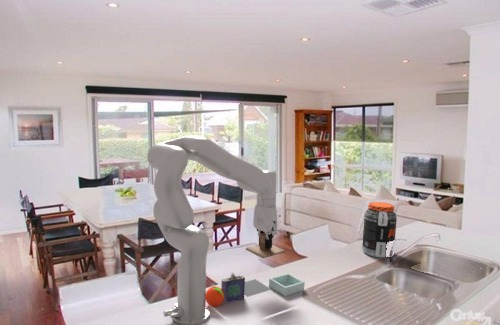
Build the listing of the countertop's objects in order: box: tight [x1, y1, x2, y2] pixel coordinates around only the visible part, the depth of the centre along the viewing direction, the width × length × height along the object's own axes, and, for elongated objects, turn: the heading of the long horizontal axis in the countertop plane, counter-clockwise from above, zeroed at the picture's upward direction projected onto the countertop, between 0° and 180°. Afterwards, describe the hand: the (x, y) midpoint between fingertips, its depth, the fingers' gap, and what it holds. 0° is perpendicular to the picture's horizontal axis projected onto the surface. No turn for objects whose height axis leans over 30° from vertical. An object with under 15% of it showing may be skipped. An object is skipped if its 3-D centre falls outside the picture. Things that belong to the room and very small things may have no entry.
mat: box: [244, 279, 272, 298], centre depth 151 cm, size 12×11×1 cm
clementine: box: [206, 285, 224, 307], centre depth 136 cm, size 8×7×7 cm
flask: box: [220, 272, 246, 304], centre depth 140 cm, size 9×3×11 cm, turn 115°
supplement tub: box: [361, 201, 398, 259], centre depth 194 cm, size 16×16×26 cm
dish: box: [268, 273, 305, 297], centre depth 151 cm, size 10×10×4 cm
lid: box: [245, 232, 286, 259], centre depth 149 cm, size 11×11×7 cm
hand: (265, 246), depth 149 cm, fingers closed on lid, 3 cm apart
